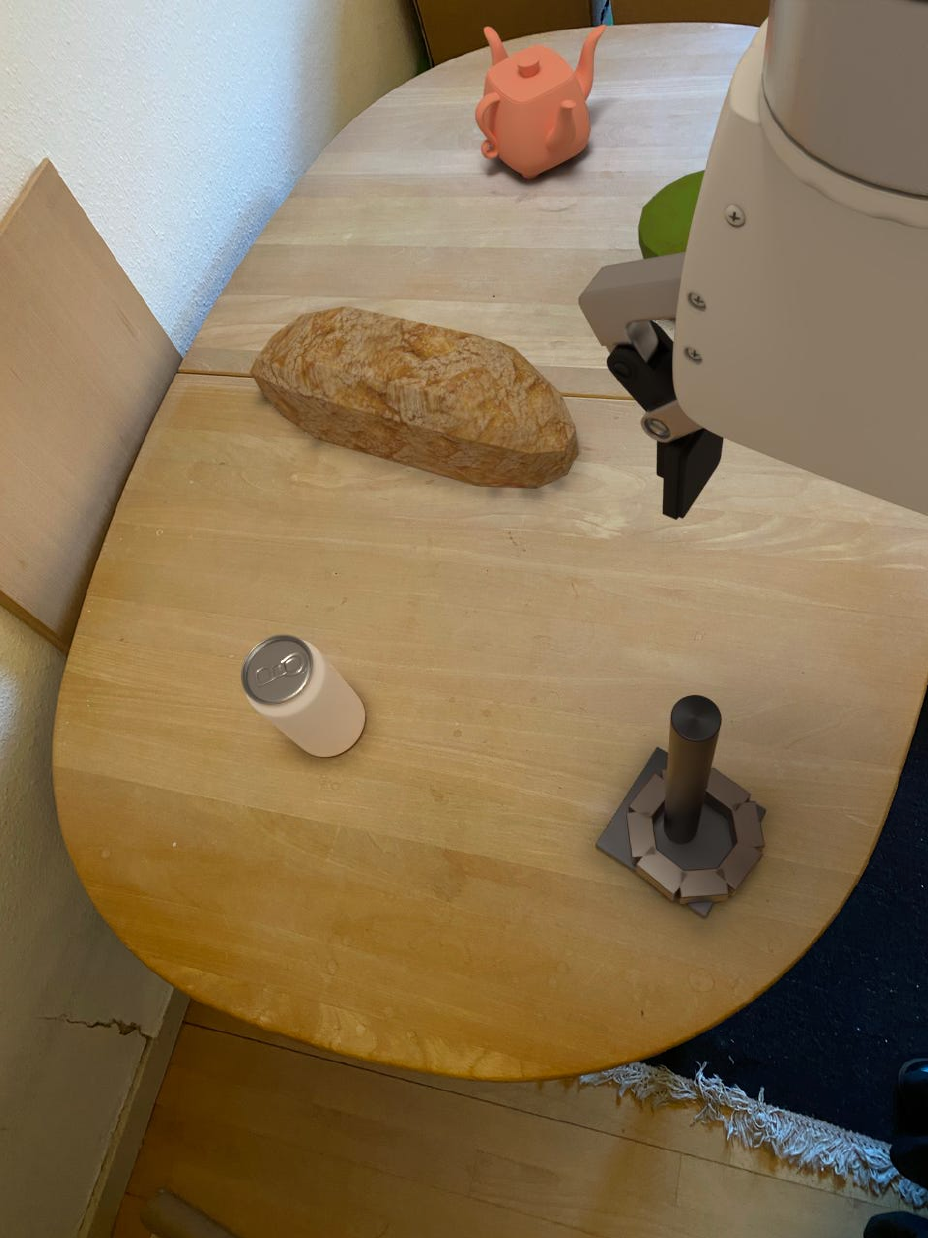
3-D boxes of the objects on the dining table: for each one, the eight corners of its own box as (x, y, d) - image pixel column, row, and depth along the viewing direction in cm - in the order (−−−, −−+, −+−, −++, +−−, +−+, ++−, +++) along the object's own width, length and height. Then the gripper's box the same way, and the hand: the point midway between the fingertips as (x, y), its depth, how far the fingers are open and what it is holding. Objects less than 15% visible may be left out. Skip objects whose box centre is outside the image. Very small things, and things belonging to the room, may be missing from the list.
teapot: (498, 113, 105) (483, 19, 95) (610, 113, 101) (606, 15, 91) (465, 191, 100) (445, 100, 90) (581, 195, 95) (574, 100, 86)
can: (374, 743, 70) (325, 692, 60) (303, 769, 70) (242, 722, 60) (357, 677, 73) (308, 617, 63) (289, 702, 74) (229, 646, 63)
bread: (595, 417, 81) (589, 342, 72) (550, 507, 77) (537, 439, 69) (297, 343, 94) (261, 272, 85) (246, 417, 90) (203, 350, 81)
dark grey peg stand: (765, 813, 62) (829, 688, 40) (704, 919, 59) (737, 849, 37) (657, 750, 65) (660, 604, 43) (596, 848, 63) (566, 745, 41)
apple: (630, 334, 85) (627, 241, 75) (651, 248, 89) (651, 150, 80) (759, 341, 81) (774, 244, 71) (773, 251, 86) (789, 149, 76)
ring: (782, 830, 60) (788, 820, 57) (707, 930, 58) (710, 925, 55) (677, 754, 64) (679, 742, 61) (604, 845, 62) (602, 837, 59)
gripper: (1797, -70, 11) (1139, 562, 26) (652, -158, 18) (649, 383, 33) (1709, 309, 9) (1051, 759, 24) (458, 48, 16) (549, 525, 31)
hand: (819, 542), depth 29 cm, fingers open, 9 cm apart
